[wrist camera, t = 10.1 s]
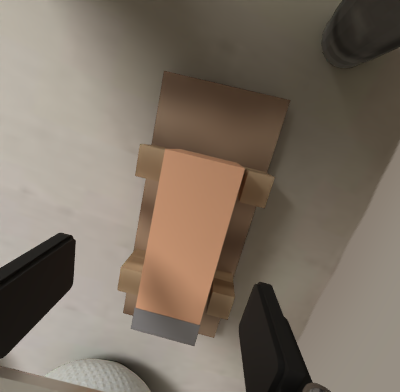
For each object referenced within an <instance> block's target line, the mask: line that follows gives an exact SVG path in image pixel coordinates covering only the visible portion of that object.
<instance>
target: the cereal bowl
mask: <svg viewBox="0 0 400 392" xmlns="http://www.w3.org/2000/svg"><path fill="white" fill-rule="evenodd" d="M45 377H47V378H51V379H55V380H60V381H64V382H68V383H72V384H76V385H80V386H84V387H87V388H91V389H95V390H99V391H103V392H151V391H150V390H149V388H148V386H147V385H146V384H145V382H144V381H142V379H141V378H139V377H138V376H137V375H136V374H135V373H134V372H132V371H131V370H129V369H128V368H127V367H125V366H124V365H122V364H120V363H117V362H114V361H109V360H101V359H92V358H91V359H81V360H76V361H73V362H69V363H67V364H64V365H62V366H59V367H58V368H56V369H54V370H52V371H51V372H50V373H48V374H47V375H46V376H45Z"/></svg>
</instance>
